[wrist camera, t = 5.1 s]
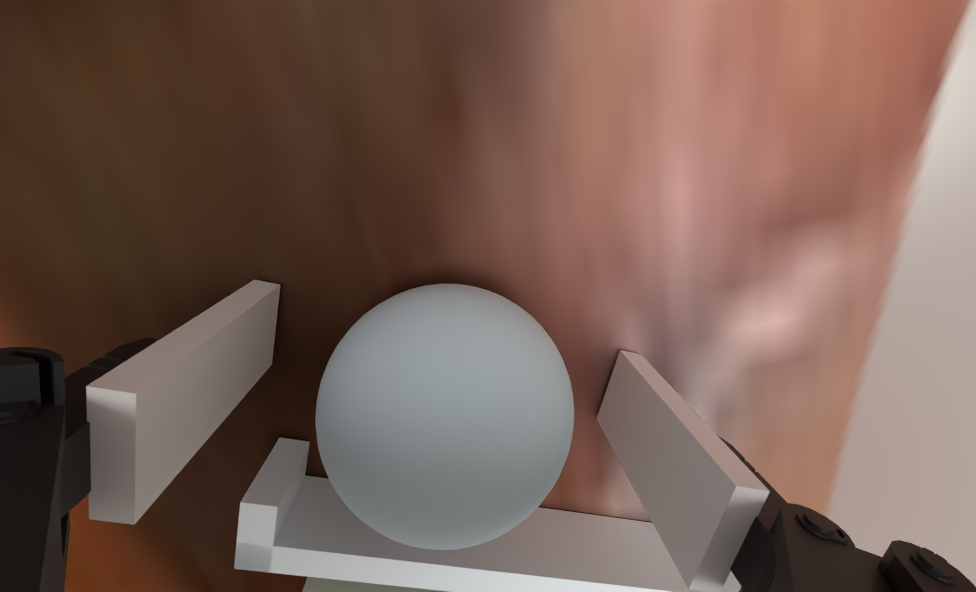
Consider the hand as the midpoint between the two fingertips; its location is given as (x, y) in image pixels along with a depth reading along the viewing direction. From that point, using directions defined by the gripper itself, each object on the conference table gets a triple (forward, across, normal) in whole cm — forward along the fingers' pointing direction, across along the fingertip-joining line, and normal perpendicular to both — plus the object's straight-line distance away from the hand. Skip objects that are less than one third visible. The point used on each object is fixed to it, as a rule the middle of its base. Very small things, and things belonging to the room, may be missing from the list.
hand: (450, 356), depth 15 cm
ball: (0, 0, 0) cm, 0 cm away
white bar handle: (0, +4, -6) cm, 7 cm away
